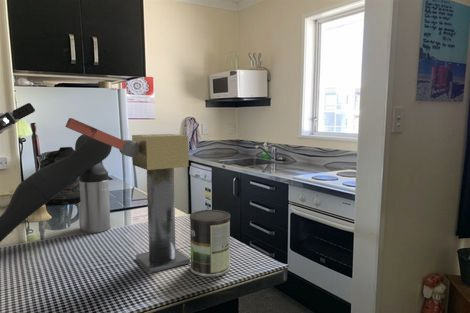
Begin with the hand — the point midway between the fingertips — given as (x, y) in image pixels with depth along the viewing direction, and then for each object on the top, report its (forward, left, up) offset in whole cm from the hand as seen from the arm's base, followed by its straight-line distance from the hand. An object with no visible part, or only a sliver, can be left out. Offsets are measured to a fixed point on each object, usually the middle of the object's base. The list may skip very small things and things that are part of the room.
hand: (31, 107), depth 81 cm
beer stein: (-54, +65, -41) cm, 94 cm away
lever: (+14, +6, -9) cm, 18 cm away
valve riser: (+23, +18, -41) cm, 50 cm away
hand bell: (-42, +38, -41) cm, 70 cm away
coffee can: (+37, +18, -41) cm, 58 cm away
